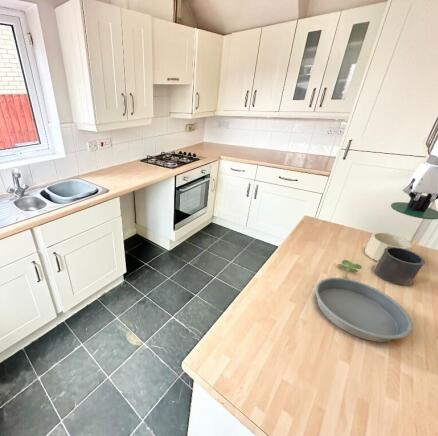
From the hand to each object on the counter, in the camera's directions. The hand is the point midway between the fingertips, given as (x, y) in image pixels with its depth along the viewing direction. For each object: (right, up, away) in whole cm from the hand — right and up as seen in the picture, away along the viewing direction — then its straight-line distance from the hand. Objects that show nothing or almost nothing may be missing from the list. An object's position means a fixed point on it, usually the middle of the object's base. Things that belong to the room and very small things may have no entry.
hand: (415, 209), depth 91 cm
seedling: (-21, -26, +7) cm, 34 cm away
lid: (0, -1, 0) cm, 1 cm away
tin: (+3, -20, +16) cm, 26 cm away
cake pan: (-32, -35, -10) cm, 48 cm away
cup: (-4, -26, +5) cm, 27 cm away
